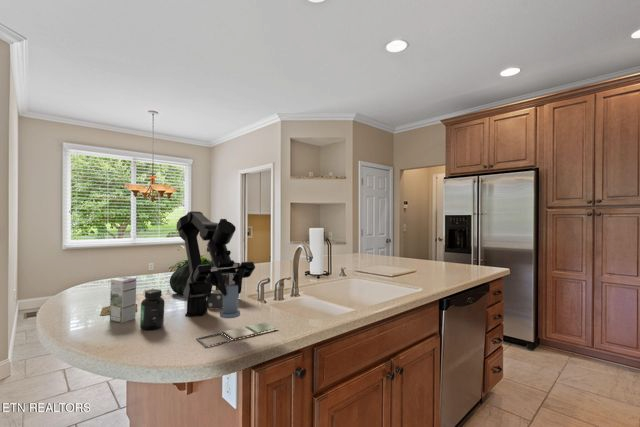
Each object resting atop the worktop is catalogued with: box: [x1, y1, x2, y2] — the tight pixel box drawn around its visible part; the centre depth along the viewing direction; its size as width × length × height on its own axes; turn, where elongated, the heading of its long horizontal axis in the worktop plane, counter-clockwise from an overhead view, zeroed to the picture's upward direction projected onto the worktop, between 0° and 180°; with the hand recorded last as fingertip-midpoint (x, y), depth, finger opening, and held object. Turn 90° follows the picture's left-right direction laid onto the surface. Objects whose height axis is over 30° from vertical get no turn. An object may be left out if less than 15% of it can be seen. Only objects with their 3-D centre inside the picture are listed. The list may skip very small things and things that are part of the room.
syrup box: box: [109, 276, 137, 324], centre depth 112 cm, size 6×6×14 cm
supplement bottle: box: [139, 289, 165, 332], centre depth 105 cm, size 7×7×12 cm
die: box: [206, 289, 223, 309], centre depth 131 cm, size 6×6×6 cm
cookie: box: [99, 304, 138, 317], centre depth 123 cm, size 12×12×1 cm
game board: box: [195, 322, 277, 348], centre depth 101 cm, size 24×8×1 cm, turn 131°
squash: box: [169, 263, 190, 296], centre depth 151 cm, size 14×15×15 cm
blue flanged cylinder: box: [219, 285, 241, 319], centre depth 99 cm, size 6×6×9 cm
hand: (232, 294), depth 98 cm, fingers closed on blue flanged cylinder, 4 cm apart
